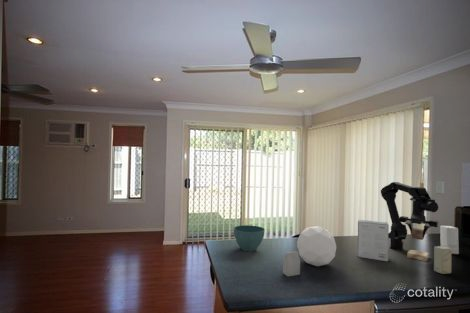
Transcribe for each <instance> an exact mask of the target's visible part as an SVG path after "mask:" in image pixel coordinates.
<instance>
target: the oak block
mask: <svg viewBox="0 0 470 313" xmlns="http://www.w3.org/2000/svg"><path fill="white" fill-rule="evenodd" d="M429 255H430V254H429V252H427V251H420V250H415V249H409V250H408V251H407V254H406V257H407V258H409V259H413V258H414V260H418V261H423V262H427V261H428V260H429Z"/></svg>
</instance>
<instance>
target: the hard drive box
mask: <svg viewBox="0 0 470 313" xmlns="http://www.w3.org/2000/svg"><path fill="white" fill-rule="evenodd" d="M389 228H390V227H389V223H388V222H387V221H377V220H364V219H358V220H357V258H362V259H370V260H376V261H382V262H383V261H384V262H389V239H390V238H389V233H390V231H389V230H390V229H389Z"/></svg>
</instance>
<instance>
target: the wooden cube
mask: <svg viewBox="0 0 470 313" xmlns="http://www.w3.org/2000/svg"><path fill="white" fill-rule="evenodd" d="M423 231H424V228H423V229H422V228H415V227H413V229H412V234H411V239H414V240H415V239H416V240H420V241H422V240H423V241H424V238H425V237H424V238H423Z"/></svg>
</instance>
